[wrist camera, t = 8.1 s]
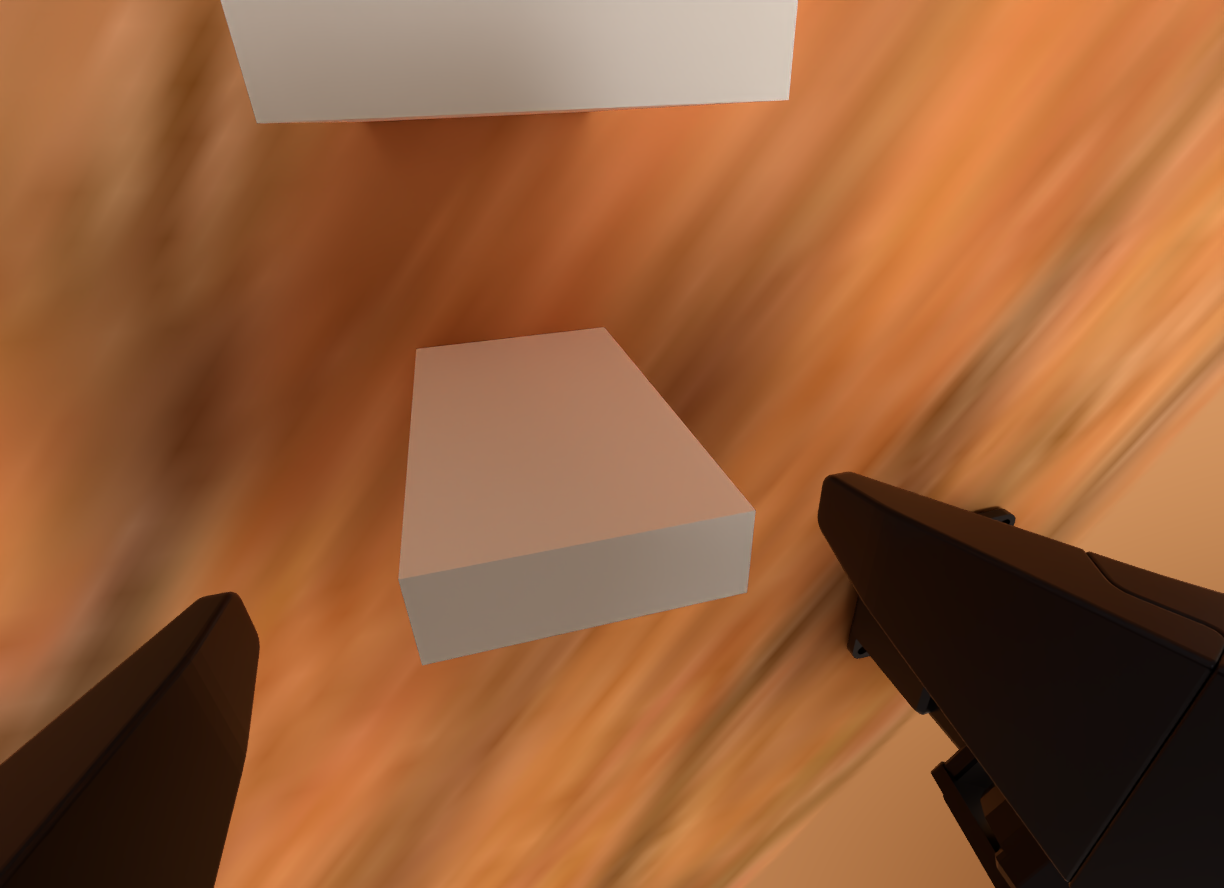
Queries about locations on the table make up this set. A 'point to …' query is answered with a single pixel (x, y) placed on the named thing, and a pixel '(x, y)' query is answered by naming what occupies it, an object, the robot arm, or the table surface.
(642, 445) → the domino
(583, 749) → the table surface
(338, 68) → the domino
